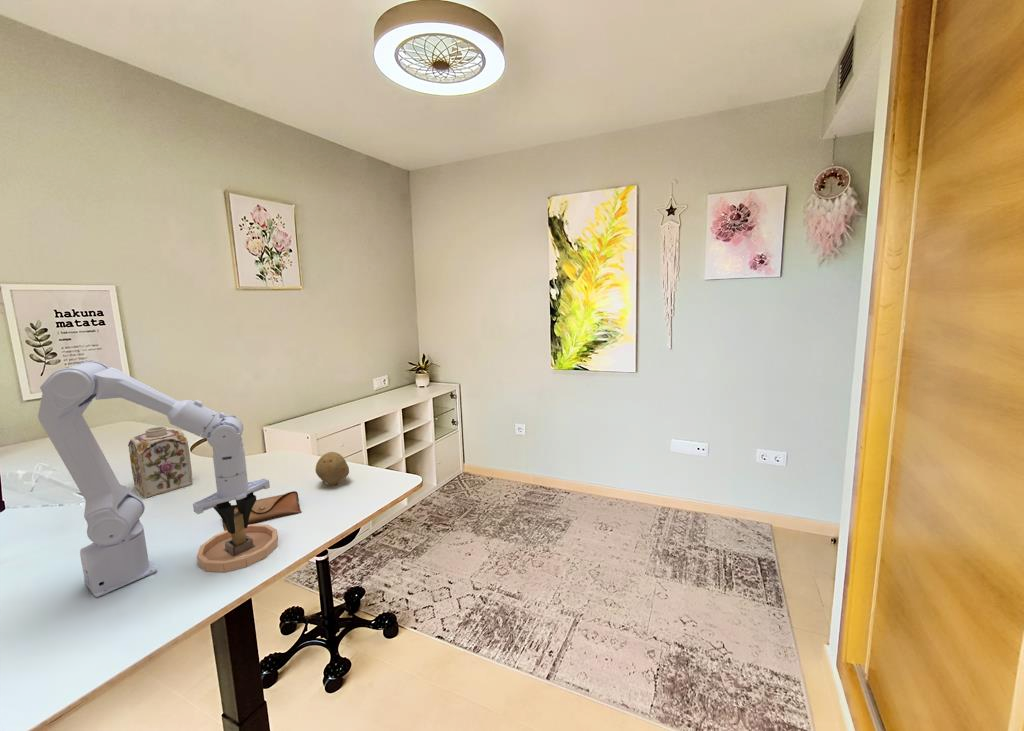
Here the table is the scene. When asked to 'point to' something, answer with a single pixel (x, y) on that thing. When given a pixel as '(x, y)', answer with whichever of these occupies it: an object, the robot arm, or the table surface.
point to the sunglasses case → (272, 508)
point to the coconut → (332, 468)
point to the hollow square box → (238, 547)
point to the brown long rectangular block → (238, 529)
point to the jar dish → (220, 561)
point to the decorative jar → (160, 461)
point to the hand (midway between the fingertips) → (237, 529)
